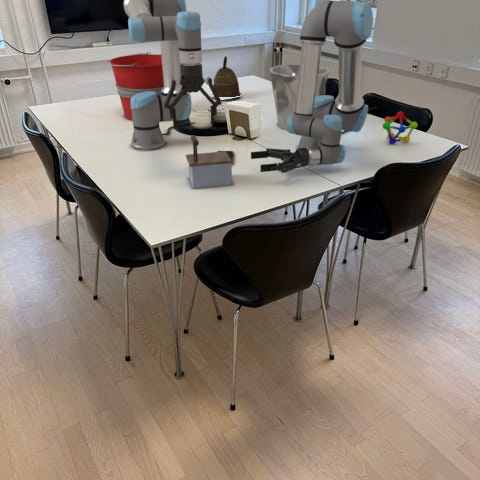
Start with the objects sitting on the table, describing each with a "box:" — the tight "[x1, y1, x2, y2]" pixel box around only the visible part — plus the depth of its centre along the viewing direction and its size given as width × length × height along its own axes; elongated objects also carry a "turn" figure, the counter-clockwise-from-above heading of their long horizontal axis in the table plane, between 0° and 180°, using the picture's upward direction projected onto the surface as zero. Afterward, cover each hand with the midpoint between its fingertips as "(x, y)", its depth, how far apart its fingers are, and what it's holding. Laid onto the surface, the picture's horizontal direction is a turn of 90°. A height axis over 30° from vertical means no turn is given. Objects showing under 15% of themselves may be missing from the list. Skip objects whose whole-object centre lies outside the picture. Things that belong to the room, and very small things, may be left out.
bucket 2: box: [269, 63, 330, 130], centre depth 226 cm, size 30×30×28 cm
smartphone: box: [216, 150, 234, 163], centre depth 192 cm, size 7×1×15 cm
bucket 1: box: [106, 51, 164, 121], centre depth 240 cm, size 35×35×30 cm
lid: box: [185, 134, 233, 167], centre depth 165 cm, size 16×10×9 cm, turn 104°
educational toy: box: [382, 110, 418, 145], centre depth 207 cm, size 16×13×15 cm
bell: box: [212, 56, 242, 97], centre depth 278 cm, size 19×26×20 cm
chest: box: [188, 162, 233, 190], centre depth 170 cm, size 15×10×9 cm, turn 104°
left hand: (194, 126), depth 159 cm, fingers open, 13 cm apart
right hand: (255, 161), depth 173 cm, fingers open, 13 cm apart
